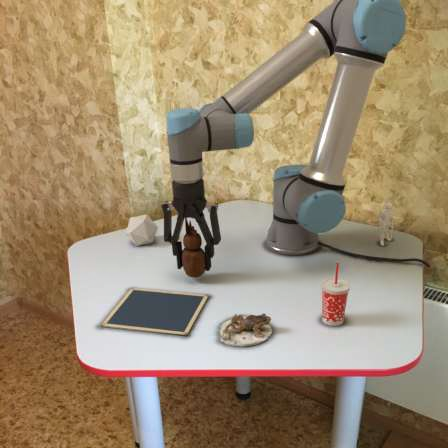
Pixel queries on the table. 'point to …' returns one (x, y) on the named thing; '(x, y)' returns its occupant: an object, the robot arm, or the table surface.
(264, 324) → the frog figurine
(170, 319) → the framed chalkboard
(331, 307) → the beverage cup
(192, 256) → the wooden figurine
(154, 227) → the die
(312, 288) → the table surface
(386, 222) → the action figure
